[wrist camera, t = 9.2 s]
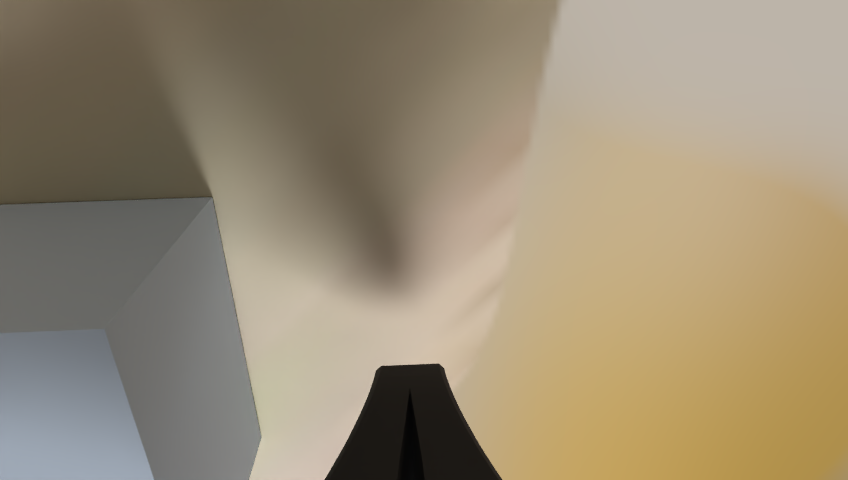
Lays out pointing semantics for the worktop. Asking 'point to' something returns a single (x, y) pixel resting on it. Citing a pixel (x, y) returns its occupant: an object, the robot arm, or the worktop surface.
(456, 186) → the worktop surface
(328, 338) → the worktop surface
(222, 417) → the blue-grey block
